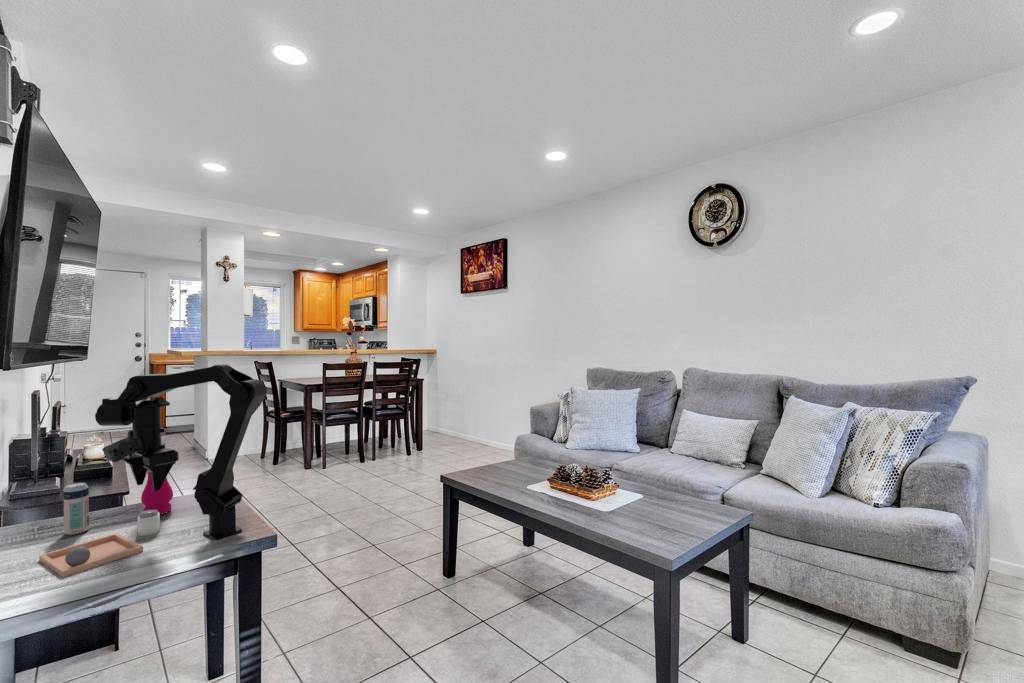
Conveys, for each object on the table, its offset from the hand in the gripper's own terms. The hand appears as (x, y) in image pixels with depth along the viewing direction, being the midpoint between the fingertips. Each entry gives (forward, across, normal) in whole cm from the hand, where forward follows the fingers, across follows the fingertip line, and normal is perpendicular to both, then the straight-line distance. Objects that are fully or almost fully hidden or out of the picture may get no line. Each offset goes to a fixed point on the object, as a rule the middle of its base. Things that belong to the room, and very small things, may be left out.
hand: (148, 487), depth 122 cm
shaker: (+12, 0, 0) cm, 12 cm away
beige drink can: (+12, -17, -9) cm, 23 cm away
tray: (+12, +4, -12) cm, 17 cm away
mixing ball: (+11, +7, -16) cm, 21 cm away
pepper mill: (+12, -15, +8) cm, 21 cm away
